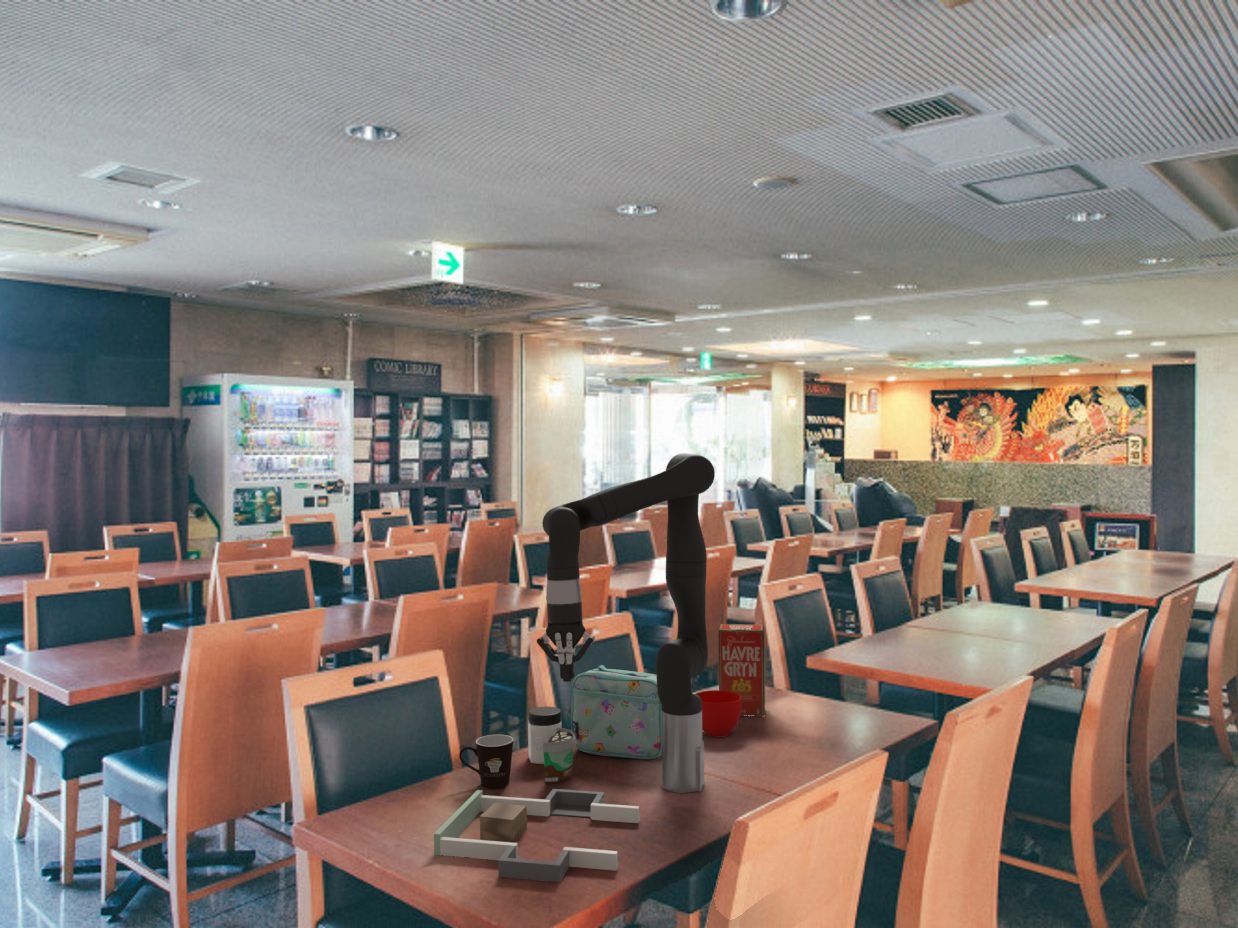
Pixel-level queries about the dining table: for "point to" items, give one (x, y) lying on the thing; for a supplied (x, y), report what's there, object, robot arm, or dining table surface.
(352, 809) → the dining table surface
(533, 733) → the jar
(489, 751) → the coffee mug
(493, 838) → the walnut block
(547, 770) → the food container
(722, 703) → the ceramic cup
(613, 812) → the track
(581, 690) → the lunch box
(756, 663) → the food packaging
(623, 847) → the dining table surface
